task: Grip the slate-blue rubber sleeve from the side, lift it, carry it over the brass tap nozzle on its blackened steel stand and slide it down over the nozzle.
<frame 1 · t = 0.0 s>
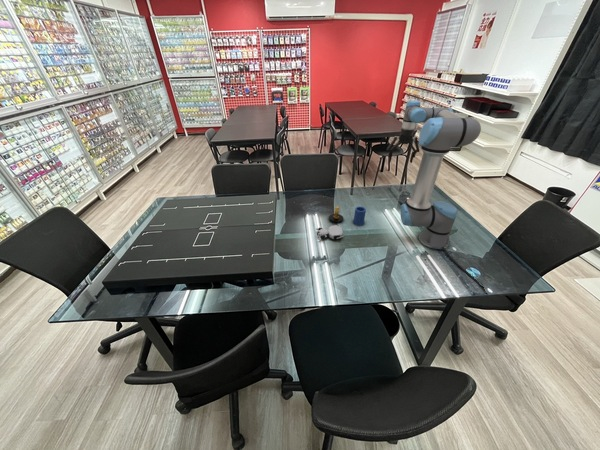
hand: (400, 161, 165), 28 cm above the table, tool pointing down, fingers open, 13 cm apart
blue sleeve: (358, 222, 155), on the table
robot toy: (329, 236, 144), on the table
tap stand: (336, 219, 158), on the table
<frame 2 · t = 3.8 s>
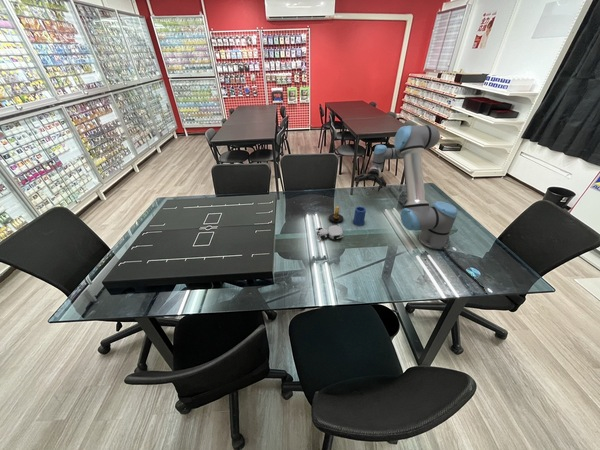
hand: (367, 187, 152), 20 cm above the table, tool horizontal, fingers open, 13 cm apart
nothing on the table moved.
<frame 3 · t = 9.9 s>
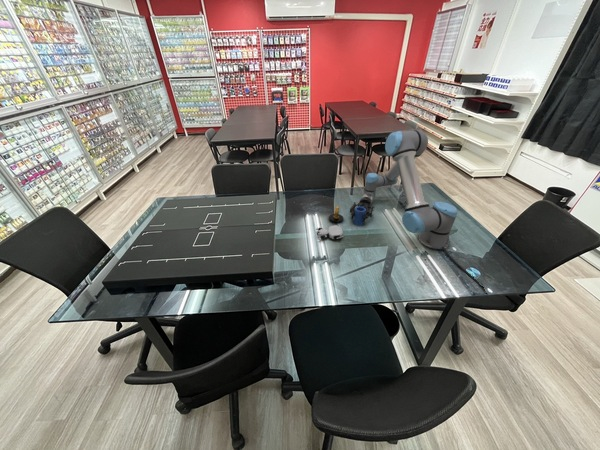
hand: (357, 218, 148), 6 cm above the table, tool horizontal, fingers closed on blue sleeve, 6 cm apart
blue sleeve: (358, 222, 155), on the table, touching gripper
everything else where it was.
when the fingers open (8 cm above the table, at t = 18.8 s): blue sleeve stays where it is, resting on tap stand.
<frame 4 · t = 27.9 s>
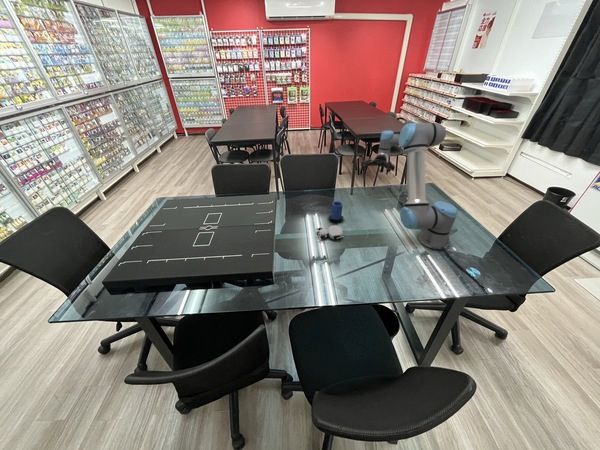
hand: (375, 170, 148), 30 cm above the table, tool horizontal, fingers open, 13 cm apart
blue sleeve: (336, 217, 157), point 2 cm above the table, touching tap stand
everything else where it was.
at the end: blue sleeve 0.1 cm off-centre on the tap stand, point 1.8 cm above the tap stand's base; blue sleeve tilted 0°; the gripper is holding nothing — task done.
